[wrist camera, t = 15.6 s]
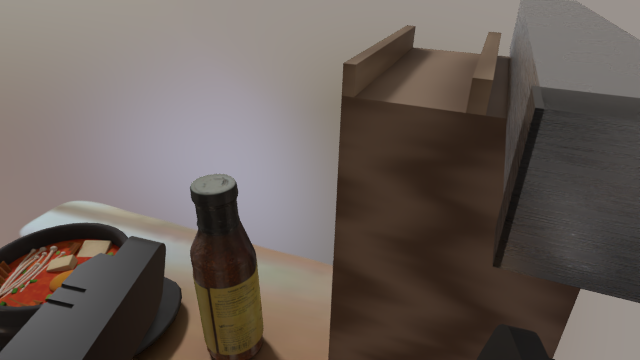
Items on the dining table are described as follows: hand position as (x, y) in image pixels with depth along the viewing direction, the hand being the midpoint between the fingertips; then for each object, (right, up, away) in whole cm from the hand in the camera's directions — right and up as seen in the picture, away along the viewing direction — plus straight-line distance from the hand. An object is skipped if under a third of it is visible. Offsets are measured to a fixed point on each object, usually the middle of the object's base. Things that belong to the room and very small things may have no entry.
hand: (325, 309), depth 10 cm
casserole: (-29, -13, +40) cm, 51 cm away
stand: (+8, -20, +29) cm, 36 cm away
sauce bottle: (-10, -15, +37) cm, 41 cm away
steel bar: (+11, +7, +10) cm, 16 cm away
